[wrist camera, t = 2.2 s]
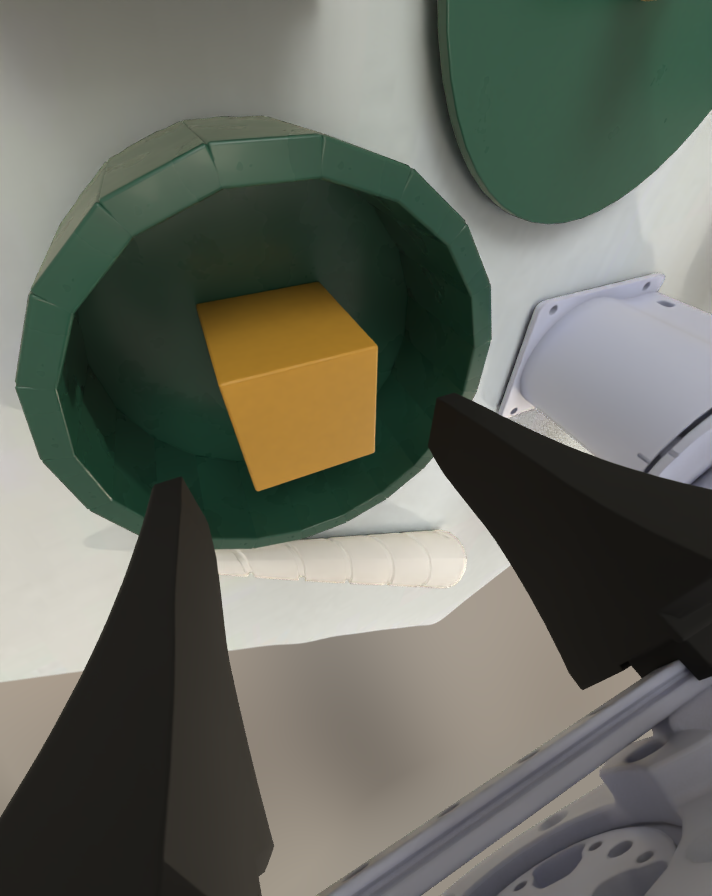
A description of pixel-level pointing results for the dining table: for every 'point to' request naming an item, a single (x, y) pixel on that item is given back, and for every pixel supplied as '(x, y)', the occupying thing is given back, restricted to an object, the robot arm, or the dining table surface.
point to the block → (293, 380)
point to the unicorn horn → (355, 560)
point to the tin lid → (572, 95)
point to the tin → (231, 275)
